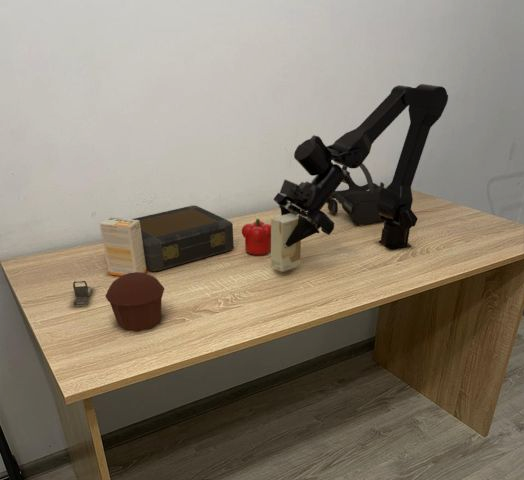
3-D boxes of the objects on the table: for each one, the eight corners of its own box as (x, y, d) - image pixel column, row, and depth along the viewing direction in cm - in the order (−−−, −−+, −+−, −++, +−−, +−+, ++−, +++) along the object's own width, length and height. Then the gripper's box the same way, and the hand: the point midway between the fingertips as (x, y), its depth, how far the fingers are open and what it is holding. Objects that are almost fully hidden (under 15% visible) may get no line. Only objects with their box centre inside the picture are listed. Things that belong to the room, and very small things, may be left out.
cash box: (196, 229, 156) (194, 203, 152) (236, 250, 142) (235, 222, 138) (117, 249, 143) (112, 221, 139) (151, 274, 130) (148, 244, 126)
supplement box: (147, 271, 131) (140, 219, 124) (137, 279, 127) (129, 226, 120) (118, 267, 134) (110, 216, 127) (108, 274, 130) (98, 222, 123)
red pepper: (259, 244, 146) (259, 212, 141) (277, 252, 141) (277, 219, 136) (239, 251, 142) (238, 218, 137) (256, 259, 137) (256, 226, 132)
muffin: (150, 302, 117) (144, 260, 112) (178, 321, 110) (173, 277, 105) (100, 320, 111) (92, 276, 105) (127, 341, 104) (119, 295, 98)
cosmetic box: (282, 272, 127) (282, 223, 120) (270, 267, 129) (269, 218, 123) (301, 265, 130) (302, 216, 123) (289, 260, 133) (290, 212, 126)
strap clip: (78, 290, 123) (75, 273, 120) (92, 289, 123) (88, 272, 121) (73, 307, 116) (69, 289, 113) (87, 306, 116) (83, 288, 114)
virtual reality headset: (347, 233, 157) (355, 184, 147) (313, 201, 173) (318, 155, 164) (402, 225, 162) (412, 177, 153) (363, 195, 179) (371, 150, 170)
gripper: (280, 157, 125) (240, 211, 127) (326, 175, 112) (280, 235, 113) (307, 185, 133) (269, 236, 135) (353, 206, 119) (310, 262, 121)
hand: (281, 241), depth 126 cm, fingers closed on cosmetic box, 5 cm apart
